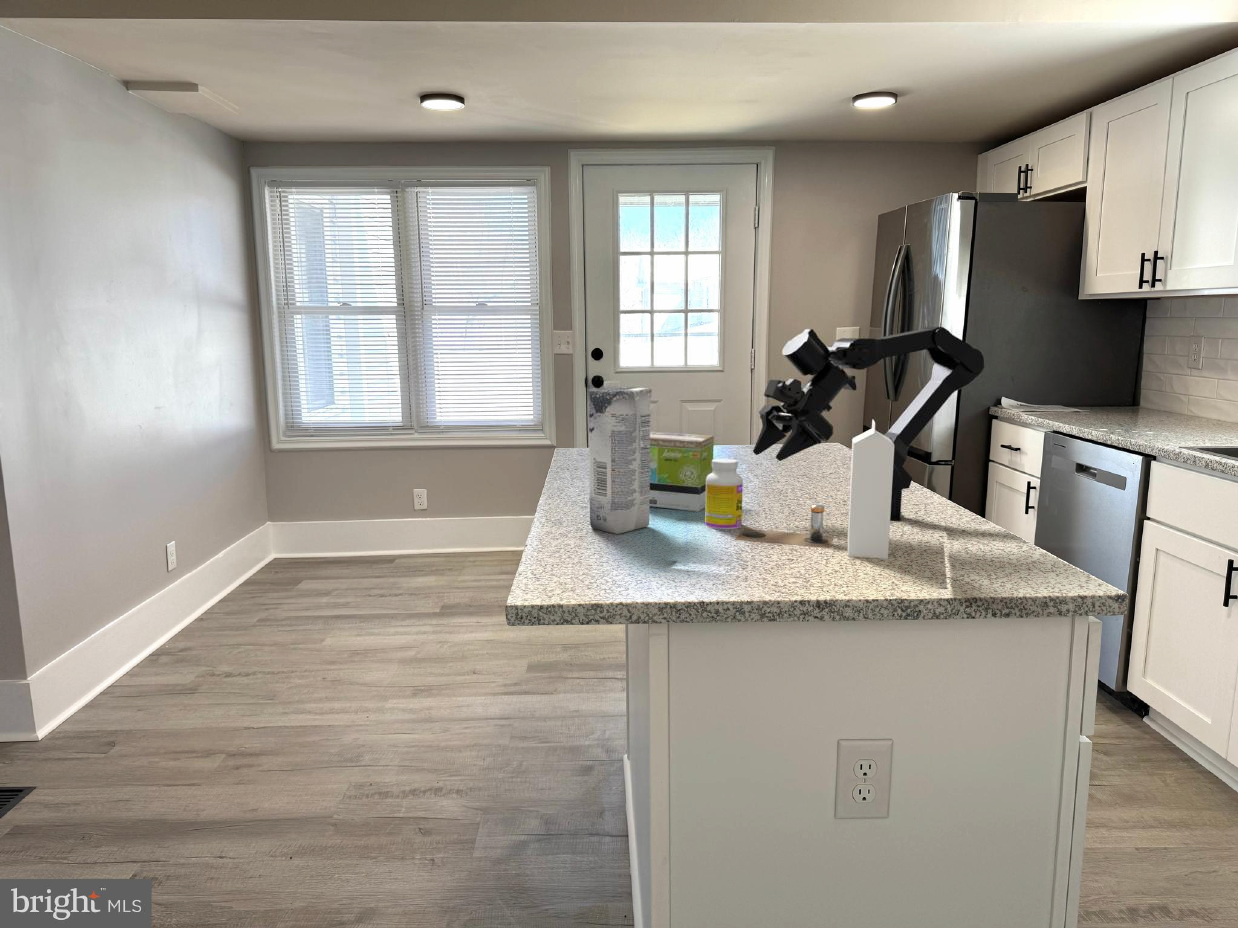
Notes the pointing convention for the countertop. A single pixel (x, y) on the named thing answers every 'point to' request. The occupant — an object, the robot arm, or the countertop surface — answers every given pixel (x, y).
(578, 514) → the countertop surface
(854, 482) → the milk
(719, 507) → the supplement bottle
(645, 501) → the juice carton
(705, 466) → the tea box
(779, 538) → the plate
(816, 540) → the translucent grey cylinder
